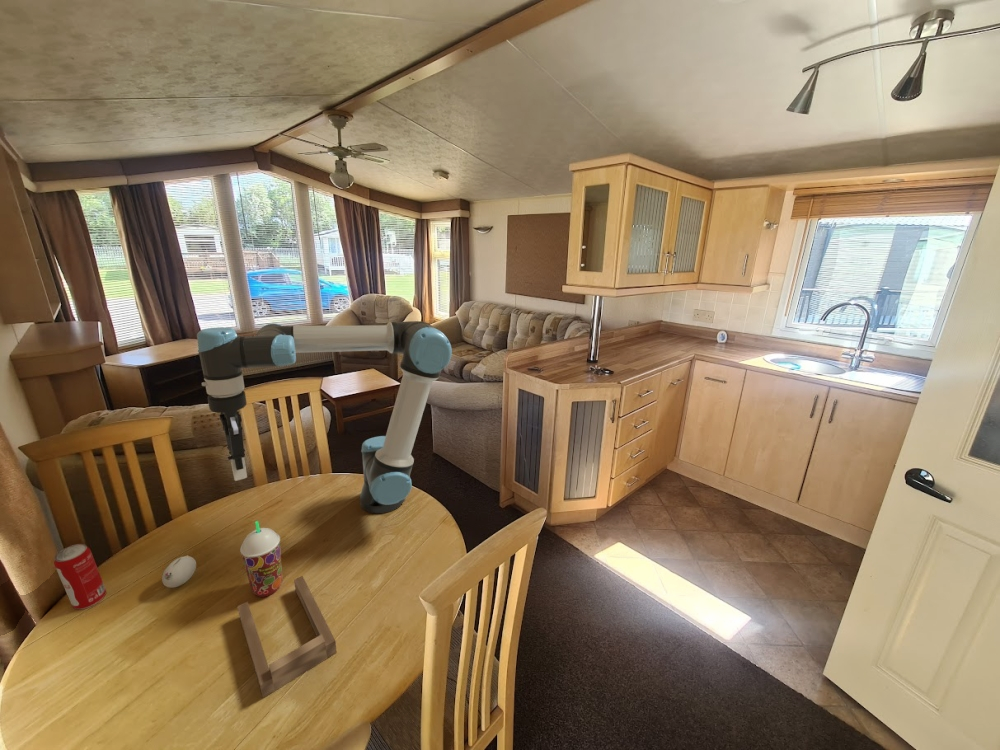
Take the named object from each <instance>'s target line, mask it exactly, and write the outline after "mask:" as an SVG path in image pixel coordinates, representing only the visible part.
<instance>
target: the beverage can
mask: <svg viewBox="0 0 1000 750" xmlns="http://www.w3.org/2000/svg"><path fill="white" fill-rule="evenodd" d="M96 563H97V562H96V561H95V558H94V555H93V553H92V551H91V549H90V547H89V546H87V545H86V543H85V544H84V543H77V544H73V545H70V546H67V547H65V548H63V549H62V550H61V549H60V551H58V552H57V553H56V554H55V555H54V562H53V564H54V567H55V570H56V572H57V573H58V574H57V575H58V577H59V579H60V581H61V583H62V585H63V588H64V589H65V590H64V591H65V592H66V594H67V597H68V599H69V602H70V603H71V607H72V608H73V609H75V610H84V609H89V608H90V607H93V606H95V605H96V604H99V602H101V601H102V600H103V598H104V597H105V596H106V595H107V589H106V586H105V584H104V581H103V578H102V576H101V574H100V570H99V569H98V566H97V564H96Z"/></svg>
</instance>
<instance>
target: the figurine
mask: <svg viewBox="0 0 1000 750" xmlns="http://www.w3.org/2000/svg"><path fill="white" fill-rule="evenodd" d="M196 569H197V562H196V560H195V558H194V557H193V556H189V555H188V554H186V555H185V556H180V557H178V558H176V559H174V560H173V561H172V562H171V563H169V564H168V565H167V567H165V568H164V571H163V572H162V576H161V581H162V584H163V586H165V587H167V588H177V587H181V586H182V585H184V584H185V583H187V582H188V581H189V580H190V579H191V578H192V577H193V575H194V573H195V572H196Z"/></svg>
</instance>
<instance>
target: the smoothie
mask: <svg viewBox="0 0 1000 750" xmlns="http://www.w3.org/2000/svg"><path fill="white" fill-rule="evenodd" d="M281 550H282V548H281V535H279V533H276V531H274V530H273V529H271V528H270V527H260V522H259V520H256V521H255V529H254V530H251V532H249V533H248V534H247V536H245V538H244V539H243V542H242V544H241V545H240V549H239V551H240V554H241V558H242V561H243V564H244V568H245V571H246V575H247V578H248V581H249V585H250V588H251V591H252V593H253V594H255V596H257V597H260V598H262V597H263V598H264V597H268V596H270V595H273V594H274V593H275V592H277V591H278V590H279V589H280V587H281V584H282V582H283V577H284V576H283V566H282V565H283V563H282V551H281Z"/></svg>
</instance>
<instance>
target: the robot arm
mask: <svg viewBox="0 0 1000 750" xmlns="http://www.w3.org/2000/svg"><path fill="white" fill-rule="evenodd" d="M196 339H197V347H198V349H197V352H198V356H199V359H200V364H201V365H200V366H201V368H202V374H203V380H204V381H203V382H201V386H202V387H205V390H206V391H205V392H206V394H207V395H208V396H207V404H208V408H209V410H210V411H211V412H212V413H218V414H219V415H218V416H219V420H220V421H221V426H222V430H223V431H224V435H225V439H226V446H227V450H229V452H228V454H229V456H227V459H228V461H230V463H231V470H232V475H233V480H234V481H235V482H236V481H240V480H243V479H246V478H248V473H247V468H246V461H245V458H246V453H245V452H246V450H245V446H244V439H243V438H244V437H243V426H242V416H241V414H240V413H239V410H242V409H244V408H245V407H246V406H247V403H248V402H247V398H246V396H247V395H246V391H244V390H245V382H244V375H243V370H242V369H248V368H249V369H251V368H262V367H263V368H266V367H269V368H270V367H283V366H290V365H294V364H295V363H296V361H297V356H296V355H297V354H299V353H301V354H303V353H304V354H305V353H331V352H332V353H336V352H337V353H339V352H341V353H342V352H368V351H369V352H370V351H371V352H373V351H387V352H388V353H389V354H402V357H401V362H400V365H399V369H400V371H401V372H402V378H401V381H400V385H399V387H398V391H397V395H396V399H395V402H394V406H393V410H392V413H391V416H390V420H389V424H388V427H387V430H386V434H385V435H380V436H379V435H378V436H374V437H371V438H368V439H366V440H364V441H363V442H362V445H361V450H360V452H361V456H362V471H363V485H362V489H361V491H360V495H359V505H360V507H361V508H362V510H364V511H366V512H367V513H371V514H385V513H390V512H392V511H395V510H397V509H398V508H400V507H401V506H402V505H403V504H404V503H405V501H406V498H407V497H408V495H409V494H410V493H411V491H412V487H413V486H412V479H411V472H412V469H413V465H414V461H415V458H414V457H413V455H412V451H413V448H414V444H415V441H416V437H417V434H418V431H419V429H420V428H419V427H420V425H421V421H422V418H423V413H424V411H425V408H426V405H427V400H428V397H429V395H430V394H429V393H430V391H431V388H432V384H433V382H435V381H436V380H438V379H440V375H441V373H442V370H443V369H445V368H447V366H449V363H450V361H451V358H452V354H453V352H452V351H453V349H452V345H451V342H450V340H449V339H448V337H447V336H446V335H445V334H444V333H443V332H442V331H441V330H440V329H438V328H435V327H434V326H432V325H431V324H429V323H428V322H425V321H419V320H413V321H412V320H411V321H389V322H387V324H384V325H379V324H378V325H377V324H376V325H375V324H374V325H282V324H278V323H268V324H266V325H263V326H261V328H260V329H259V330H258V331H257V333H256V335H255V336H254V335H253V336H252V335H251V336H238V334H237V332H236V330H235V329H234V328H232V327H223V326H222V327H221V326H220V327H219V326H218V327H210V328H209V327H208V328H204V329H201V330H199V332H197V333H196ZM403 502H404V503H403ZM402 503H403V504H402ZM401 504H402V505H401ZM400 505H401V506H400ZM399 506H400V507H399ZM396 508H397V509H396ZM394 509H395V510H394Z"/></svg>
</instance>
